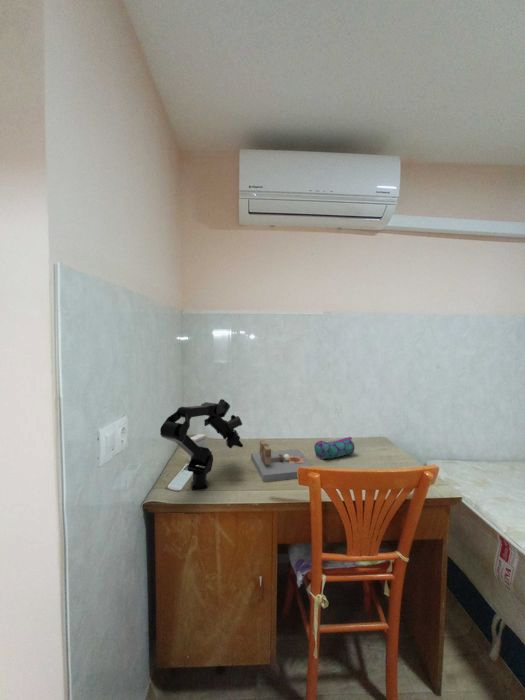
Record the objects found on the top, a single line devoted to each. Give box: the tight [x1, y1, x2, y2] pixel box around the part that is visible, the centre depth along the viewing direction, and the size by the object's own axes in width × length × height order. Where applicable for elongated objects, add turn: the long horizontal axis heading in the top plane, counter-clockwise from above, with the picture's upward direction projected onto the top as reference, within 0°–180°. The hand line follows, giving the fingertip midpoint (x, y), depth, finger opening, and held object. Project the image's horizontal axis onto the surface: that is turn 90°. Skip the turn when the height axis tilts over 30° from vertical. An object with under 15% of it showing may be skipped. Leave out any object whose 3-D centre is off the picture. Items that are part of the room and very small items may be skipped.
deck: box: [250, 448, 315, 483], centre depth 135 cm, size 24×26×3 cm
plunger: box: [259, 440, 284, 465], centre depth 133 cm, size 11×10×8 cm
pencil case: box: [313, 436, 355, 460], centre depth 149 cm, size 21×9×10 cm, turn 114°
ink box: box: [187, 433, 208, 462], centre depth 141 cm, size 9×5×12 cm, turn 149°
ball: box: [284, 454, 290, 461], centre depth 135 cm, size 3×3×3 cm
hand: (242, 446), depth 130 cm, fingers closed
